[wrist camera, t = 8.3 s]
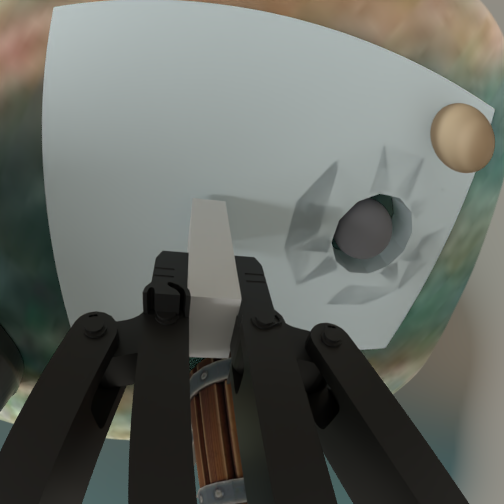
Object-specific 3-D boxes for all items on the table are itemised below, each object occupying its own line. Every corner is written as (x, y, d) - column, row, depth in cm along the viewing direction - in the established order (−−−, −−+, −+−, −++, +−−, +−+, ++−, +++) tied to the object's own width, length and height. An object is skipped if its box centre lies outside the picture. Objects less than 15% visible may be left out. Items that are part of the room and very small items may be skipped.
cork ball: (409, 149, 14) (451, 174, 11) (427, 87, 12) (474, 100, 9) (453, 165, 15) (493, 191, 12) (470, 110, 13) (514, 128, 10)
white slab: (82, 311, 21) (73, 335, 19) (74, 12, 10) (53, 7, 8) (374, 327, 26) (385, 348, 24) (469, 100, 15) (494, 109, 13)
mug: (252, 322, 23) (289, 525, 11) (321, 372, 29) (363, 514, 16) (132, 394, 28) (124, 535, 15) (206, 427, 33) (216, 543, 20)
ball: (328, 231, 20) (320, 257, 17) (345, 181, 18) (340, 199, 15) (378, 250, 20) (378, 279, 17) (398, 201, 18) (404, 223, 15)
